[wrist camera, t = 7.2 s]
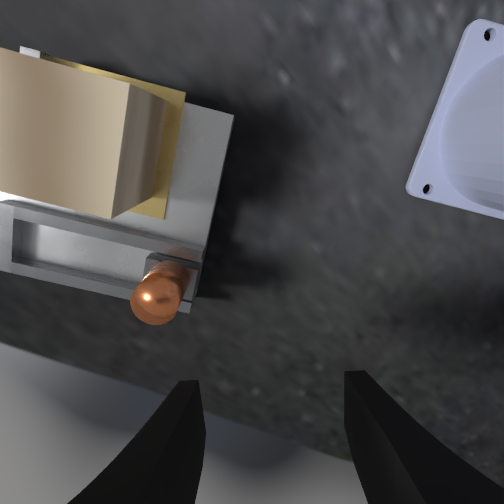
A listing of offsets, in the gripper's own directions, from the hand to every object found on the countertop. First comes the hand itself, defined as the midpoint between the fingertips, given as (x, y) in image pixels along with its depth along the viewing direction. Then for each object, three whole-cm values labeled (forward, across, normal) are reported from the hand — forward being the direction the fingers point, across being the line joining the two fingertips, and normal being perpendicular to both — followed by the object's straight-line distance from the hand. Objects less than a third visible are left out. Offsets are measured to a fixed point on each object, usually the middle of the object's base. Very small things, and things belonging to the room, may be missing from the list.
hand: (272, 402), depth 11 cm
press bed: (+9, +8, -6) cm, 14 cm away
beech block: (+8, +7, -8) cm, 13 cm away
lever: (+8, +5, -2) cm, 9 cm away
